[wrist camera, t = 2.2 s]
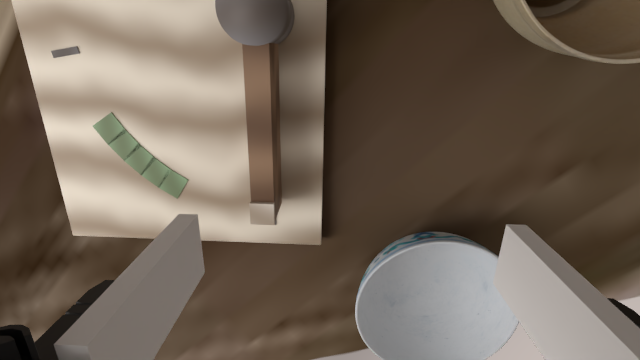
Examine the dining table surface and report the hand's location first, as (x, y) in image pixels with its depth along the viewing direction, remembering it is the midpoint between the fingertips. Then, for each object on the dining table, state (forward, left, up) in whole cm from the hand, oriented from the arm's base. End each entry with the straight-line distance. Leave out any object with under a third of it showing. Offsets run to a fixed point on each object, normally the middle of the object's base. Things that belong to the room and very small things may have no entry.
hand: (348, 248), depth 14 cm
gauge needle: (-3, -7, -19) cm, 21 cm away
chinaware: (+15, +9, -22) cm, 28 cm away
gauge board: (-2, -15, -21) cm, 26 cm away
